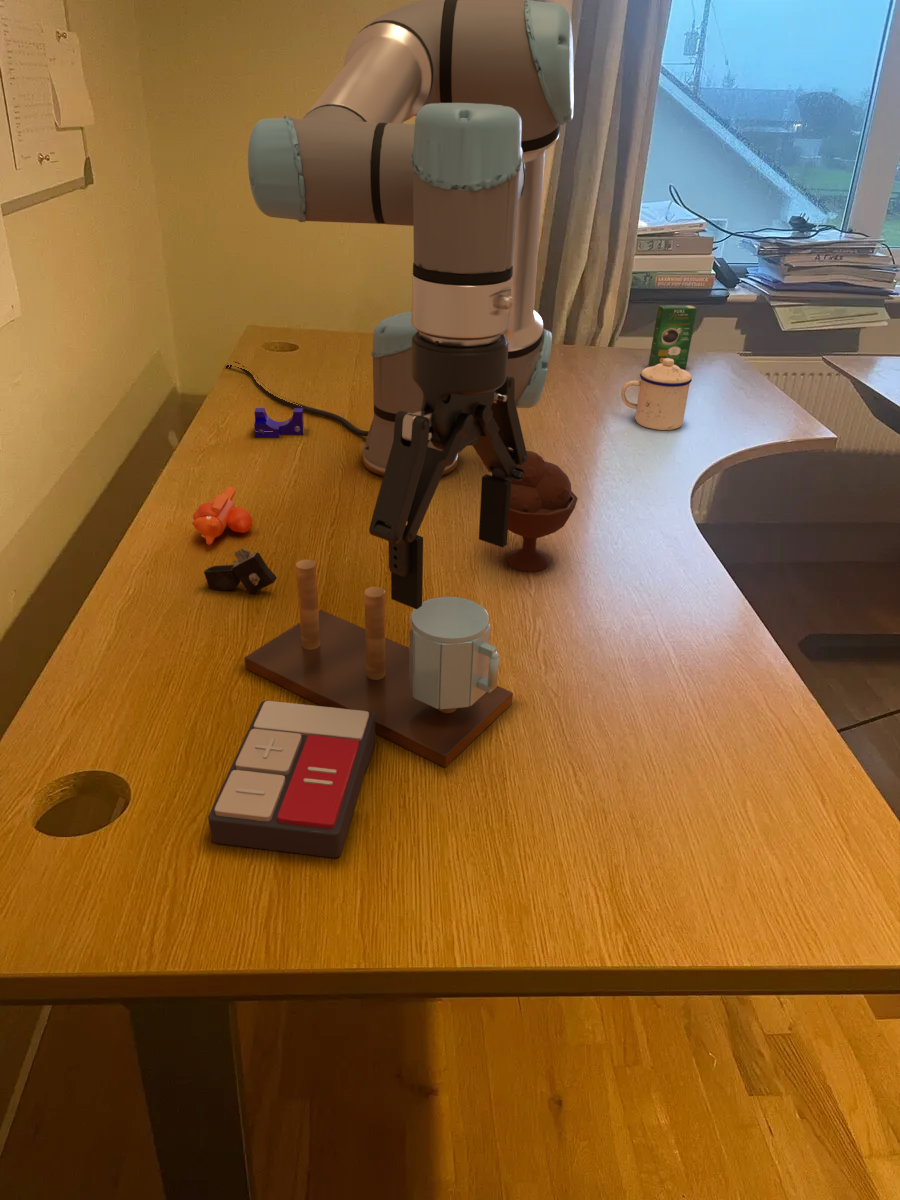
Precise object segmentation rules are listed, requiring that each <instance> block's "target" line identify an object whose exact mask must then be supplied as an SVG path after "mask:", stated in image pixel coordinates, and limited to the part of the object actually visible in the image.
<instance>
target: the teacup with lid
mask: <svg viewBox="0 0 900 1200" xmlns="http://www.w3.org/2000/svg"><path fill="white" fill-rule="evenodd" d="M639 377H640V380H630V381H627V382H626V383H624V384H623V386H622V388H621V391H620V394H621V399H622V402H623V403H624V405H625V406H627V407H628V408H630V409H635V416H634V417H635V422H636V423H637V424H638V425H640V426H641V427H645V428H647V429H651V430H656V431H657V430H658V431H671V430H676V429H679V428H680V427H682V426H683V424H684V419H685V413H686V407H687V401H688V397H689V391H690V390H689V389H690V386H691V385H690V384H691V382H692V380H693V379H692V375H691V373H690V372H689V371H687V370H685V369H684V368H679V367H678V366H676V365H674V360H673V359H670V358H665V359H663V361H662V363H660V364H657V365H655V366H651V367H649V366H647V367H645V368H643V369H642V371H640V374H639ZM632 386H637V387H639V390H638V394H637V395H638V396H637V403H632V402H630V401H629V400H628V399H627V397H626V391H627V389H628V388H630V387H632Z"/></svg>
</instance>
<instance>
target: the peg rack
mask: <svg viewBox="0 0 900 1200" xmlns="http://www.w3.org/2000/svg"><path fill="white" fill-rule="evenodd" d="M295 569H296V570H295V571H296V586H297V598H298V599H297V600H298V612H299V613H298V615H299V623H297V624H295V625H294V626H292V627H291V628H289V629H287V630H286V631H284V632H282V633H281V634H279V635H278V636H276V637H274V638H273V639H272V640H269V641H268V642H267V643H265V644H263V645H262V646H260V647H259V648H257V649H256V650H254V651H252V652H251V653H250V654H248V655H246V656H245V657H244V667H245V669H246V670H247V671H250V672H252V673H253V674H256V675H258V676H260V677H262V678H264V679H266V680H268V681H270V682H272V683H274V684H275V685H277V686H280V687H282V688H283V689H285V690H287V691H290V692H291V693H293V694H295V695H298V696H300V697H301V698H304V699H306V700H307V701H309V702H312V703H314V704H316V705H317V706H324V707H333V708H343V709H352V710H362V711H370V712H373V713H374V714H375V735H378V736H380V737H382V738H383V739H386V740H388V741H390V742H391V743H394V744H396V745H398V746H400V747H402V748H404V749H406V750H408V751H410V752H412V753H414V754H416V755H418V756H421V757H422V758H424V759H427V760H429V761H431V762H432V763H435V764H437V765H438V766H440V767H442V768H447V767H448V766H449V765H450V764H451V763H452V762H453V761H454V760H455V759H456V758H457V757H459V755H460V754H462V752H463V751H464V750H465V749H466V748H468V747H469V746H470V745H471V744H472V743H473V742H474V741H475V740H476V739H477V738H478V737H479V736H480V735H481V734H483V732H484V731H485V730H486V729H487V728H489V726H491V725H492V723H494V722H495V721H496V720H497V719H498V718H499V717H500V716H501V715H502V714H503V713H504V712H505V711H506V710H507V709H508V708H509V707H511V706H512V705H513V698H514V697H513V696H514V692H513V691H511V690H508V689H506V688H504V687H501V686H499V685H497V687H496V688H495V689H494V690H493V691H491V692H490V693H488V692H486V693H485V694H484V695H483V696H481V697H480V698H479V699H478V700H477V701H476V702H475V703H474V704H473V705H471V706H469V707H463V708H452V709H441V710H440V708H439V709H436V708H434V707H432V706H430V705H428V704H425V703H423V702H421V701H419V700H417V699H415V698H414V697H413V695H412V690H411V686H410V682H409V647H408V646H406V645H403V644H401V643H399V642H397V641H394V640H392V639H390V638H388V637H386V591H385V589H383V588H382V587H380V586H370V587H367V588H365V590H364V591H363V593H364V594H363V595H364V596H363V597H364V598H363V599H364V600H363V601H364V627H363V626H362V627H361V626H359V625H357V624H354V623H353V622H351V621H347V620H345V619H343V618H341V617H339V616H336V615H334V614H332V613H329V612H327V611H324V610H322V609H319V600H318V599H319V598H318V596H319V595H318V579H317V563H316V561H315V560H311V559H301V560H299V561H297V562H296V563H295Z"/></svg>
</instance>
